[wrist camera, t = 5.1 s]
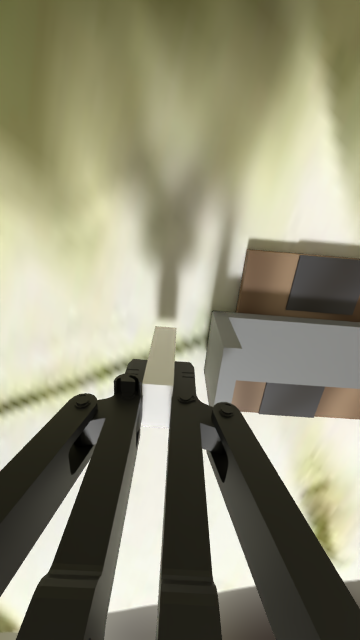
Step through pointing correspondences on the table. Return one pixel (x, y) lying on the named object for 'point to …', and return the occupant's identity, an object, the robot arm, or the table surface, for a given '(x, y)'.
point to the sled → (279, 352)
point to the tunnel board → (302, 302)
